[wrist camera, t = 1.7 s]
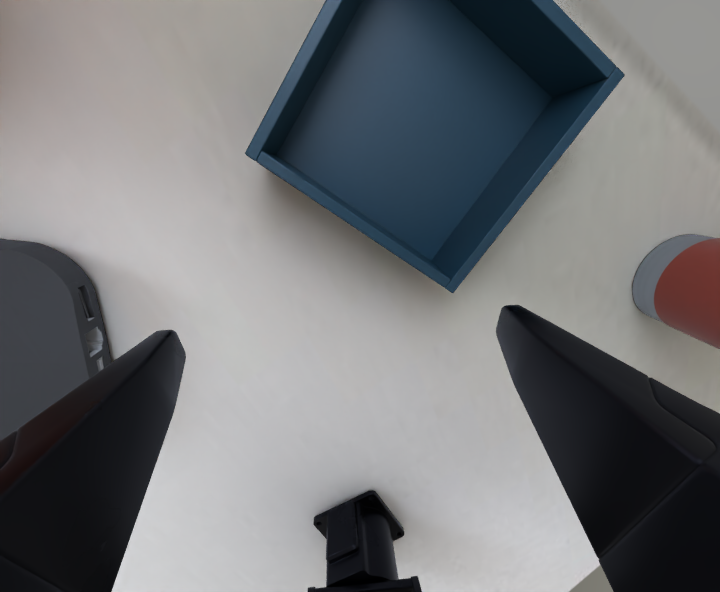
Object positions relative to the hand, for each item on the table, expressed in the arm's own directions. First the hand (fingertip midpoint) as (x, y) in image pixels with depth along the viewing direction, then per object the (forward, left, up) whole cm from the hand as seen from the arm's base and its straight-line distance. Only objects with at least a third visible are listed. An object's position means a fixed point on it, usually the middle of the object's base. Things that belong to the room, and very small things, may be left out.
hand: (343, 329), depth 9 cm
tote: (+4, -7, -14) cm, 17 cm away
